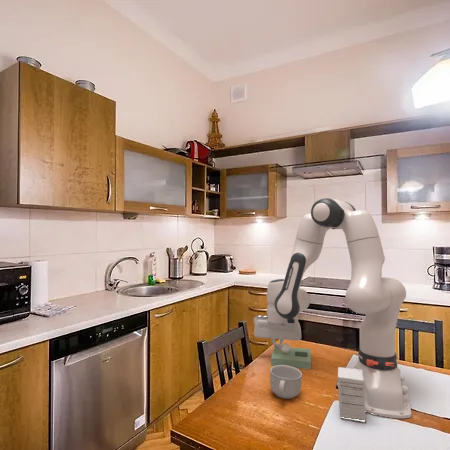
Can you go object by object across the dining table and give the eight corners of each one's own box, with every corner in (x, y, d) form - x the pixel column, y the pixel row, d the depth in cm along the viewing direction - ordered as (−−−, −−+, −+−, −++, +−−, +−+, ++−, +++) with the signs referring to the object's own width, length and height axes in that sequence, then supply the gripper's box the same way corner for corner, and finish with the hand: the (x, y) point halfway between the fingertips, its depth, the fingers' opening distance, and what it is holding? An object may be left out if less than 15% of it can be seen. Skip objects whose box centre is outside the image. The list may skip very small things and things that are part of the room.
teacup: (277, 383, 118) (276, 361, 118) (306, 391, 112) (306, 368, 112) (261, 401, 106) (261, 377, 106) (293, 411, 100) (292, 385, 100)
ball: (283, 355, 137) (291, 352, 136) (279, 346, 137) (287, 343, 136) (283, 352, 140) (292, 349, 140) (279, 343, 141) (288, 340, 140)
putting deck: (311, 369, 129) (311, 361, 129) (271, 365, 133) (271, 358, 133) (310, 355, 142) (310, 348, 142) (274, 352, 146) (274, 345, 146)
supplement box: (339, 405, 103) (337, 366, 103) (364, 409, 100) (363, 369, 100) (339, 419, 96) (337, 376, 96) (366, 423, 93) (364, 380, 93)
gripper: (252, 317, 138) (252, 349, 138) (301, 320, 134) (301, 353, 134) (254, 313, 145) (254, 343, 145) (301, 316, 140) (301, 347, 140)
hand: (277, 348), depth 139 cm, fingers closed
